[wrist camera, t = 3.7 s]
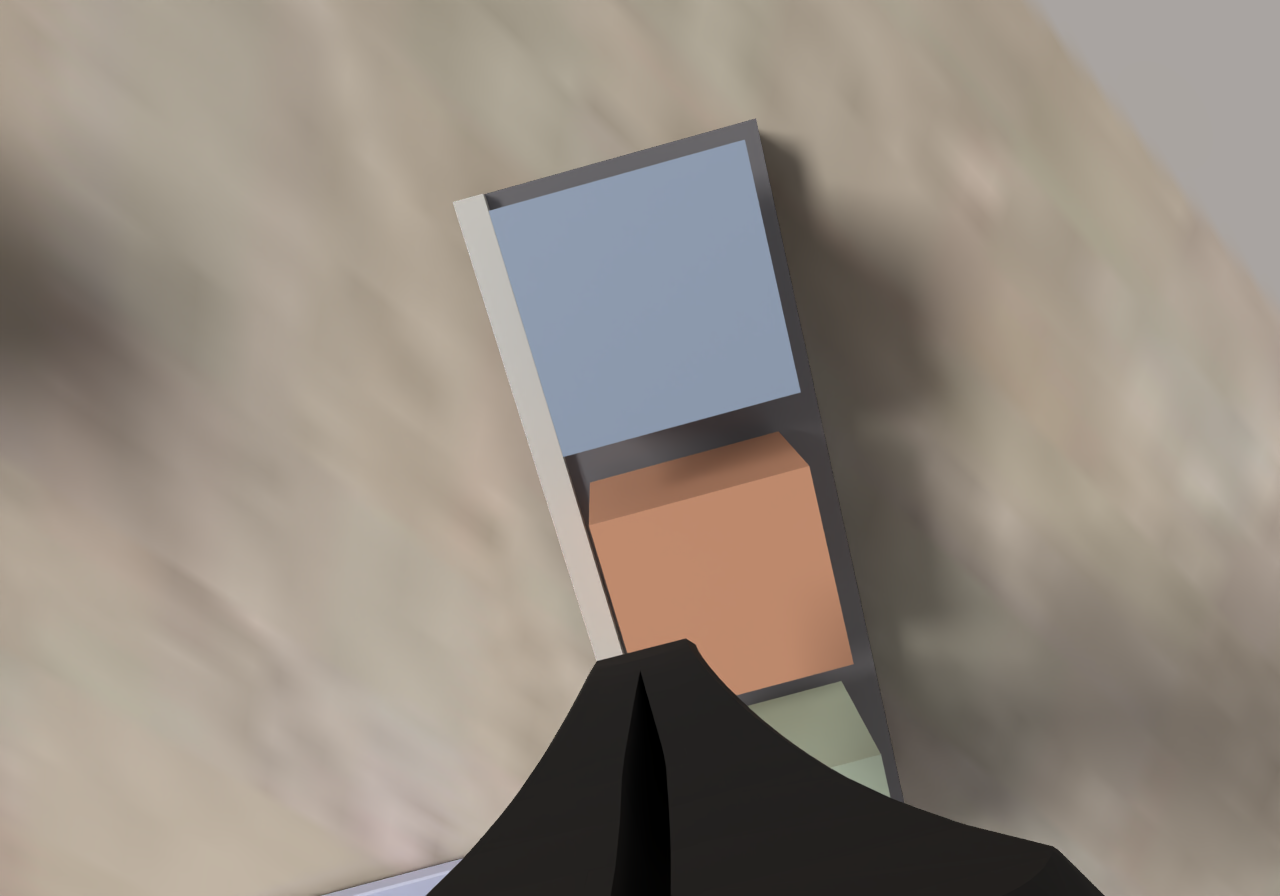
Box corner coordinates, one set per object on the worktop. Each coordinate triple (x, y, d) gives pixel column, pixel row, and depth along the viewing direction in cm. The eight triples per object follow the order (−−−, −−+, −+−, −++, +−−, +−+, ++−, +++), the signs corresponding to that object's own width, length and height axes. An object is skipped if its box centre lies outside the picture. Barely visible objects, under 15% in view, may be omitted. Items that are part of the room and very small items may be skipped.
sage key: (876, 833, 19) (918, 926, 17) (705, 879, 19) (721, 977, 17) (841, 681, 18) (880, 754, 16) (660, 729, 18) (670, 809, 16)
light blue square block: (769, 366, 16) (801, 392, 14) (568, 421, 16) (563, 456, 14) (720, 153, 15) (745, 139, 13) (506, 213, 15) (488, 210, 13)
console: (887, 774, 21) (909, 814, 20) (659, 834, 22) (664, 878, 20) (745, 125, 17) (758, 116, 16) (464, 204, 18) (452, 202, 16)
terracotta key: (818, 604, 18) (853, 664, 16) (640, 651, 18) (647, 718, 16) (778, 430, 17) (809, 465, 15) (589, 482, 17) (588, 525, 15)
